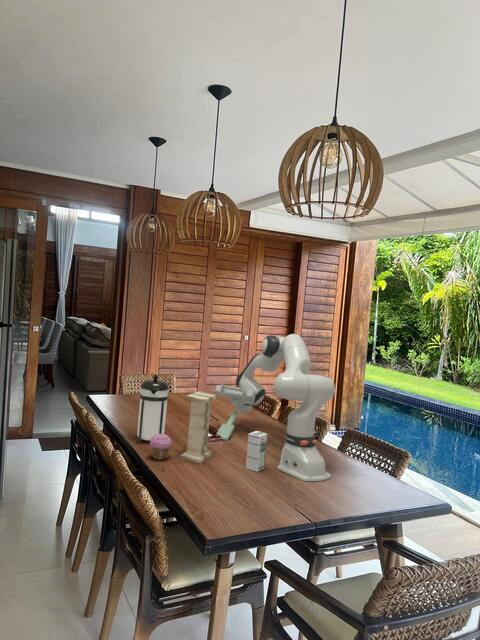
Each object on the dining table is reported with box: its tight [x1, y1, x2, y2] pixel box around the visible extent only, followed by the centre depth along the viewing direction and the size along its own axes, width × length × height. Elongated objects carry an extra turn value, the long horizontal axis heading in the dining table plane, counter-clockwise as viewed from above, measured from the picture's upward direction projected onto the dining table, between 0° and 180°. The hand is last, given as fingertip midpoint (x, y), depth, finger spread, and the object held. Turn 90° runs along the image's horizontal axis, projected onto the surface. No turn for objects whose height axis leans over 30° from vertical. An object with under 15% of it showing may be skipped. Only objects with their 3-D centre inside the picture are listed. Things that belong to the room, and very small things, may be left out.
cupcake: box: [149, 433, 173, 461], centre depth 196 cm, size 9×9×10 cm
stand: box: [179, 390, 219, 464], centre depth 202 cm, size 13×9×26 cm
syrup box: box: [245, 430, 268, 473], centre depth 195 cm, size 6×6×14 cm
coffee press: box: [135, 374, 170, 444], centre depth 219 cm, size 17×16×30 cm
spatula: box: [216, 410, 239, 442], centre depth 239 cm, size 21×6×2 cm, turn 161°
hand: (231, 387), depth 237 cm, fingers open, 8 cm apart
